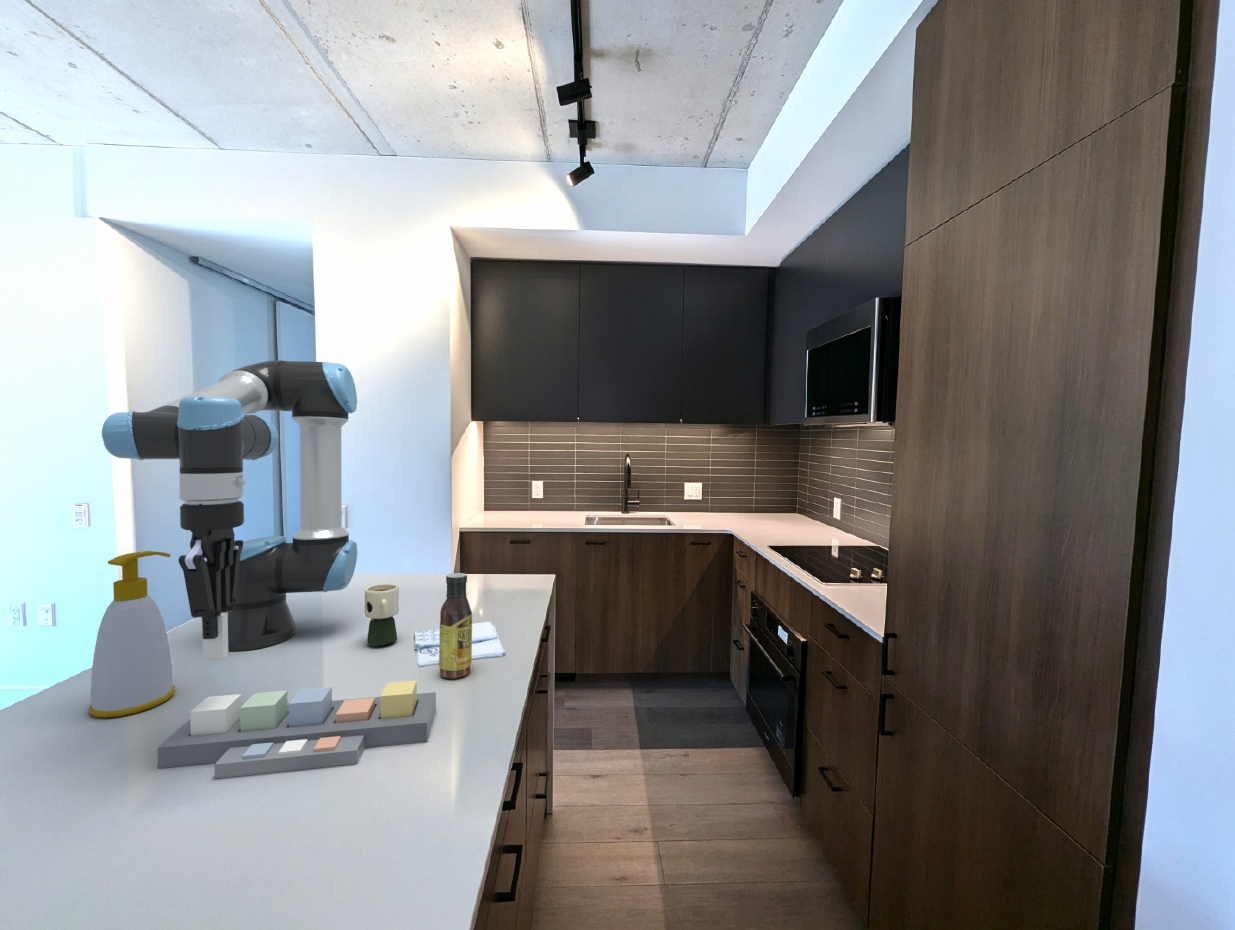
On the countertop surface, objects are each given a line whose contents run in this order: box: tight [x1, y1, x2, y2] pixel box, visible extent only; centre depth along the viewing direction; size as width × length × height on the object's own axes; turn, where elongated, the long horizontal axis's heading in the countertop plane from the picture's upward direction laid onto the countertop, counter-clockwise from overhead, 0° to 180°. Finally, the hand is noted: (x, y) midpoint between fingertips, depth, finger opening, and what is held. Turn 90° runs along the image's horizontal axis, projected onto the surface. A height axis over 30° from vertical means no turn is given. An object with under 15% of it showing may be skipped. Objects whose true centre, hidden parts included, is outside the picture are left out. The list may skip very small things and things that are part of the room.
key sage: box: [240, 690, 289, 732], centre depth 80 cm, size 5×5×4 cm
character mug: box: [364, 583, 400, 647], centre depth 119 cm, size 11×7×13 cm, turn 30°
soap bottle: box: [88, 550, 176, 719], centre depth 91 cm, size 11×12×26 cm
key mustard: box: [380, 680, 418, 719], centre depth 84 cm, size 5×5×4 cm
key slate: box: [288, 686, 333, 727], centre depth 82 cm, size 5×5×4 cm
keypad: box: [156, 691, 437, 780], centre depth 80 cm, size 14×36×3 cm, turn 102°
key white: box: [189, 693, 243, 736], centre depth 79 cm, size 5×5×4 cm
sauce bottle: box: [438, 572, 473, 680], centre depth 104 cm, size 7×6×20 cm
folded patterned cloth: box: [413, 621, 507, 668], centre depth 119 cm, size 19×20×2 cm
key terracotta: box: [335, 697, 375, 723], centre depth 83 cm, size 5×5×4 cm
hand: (215, 656), depth 79 cm, fingers closed
